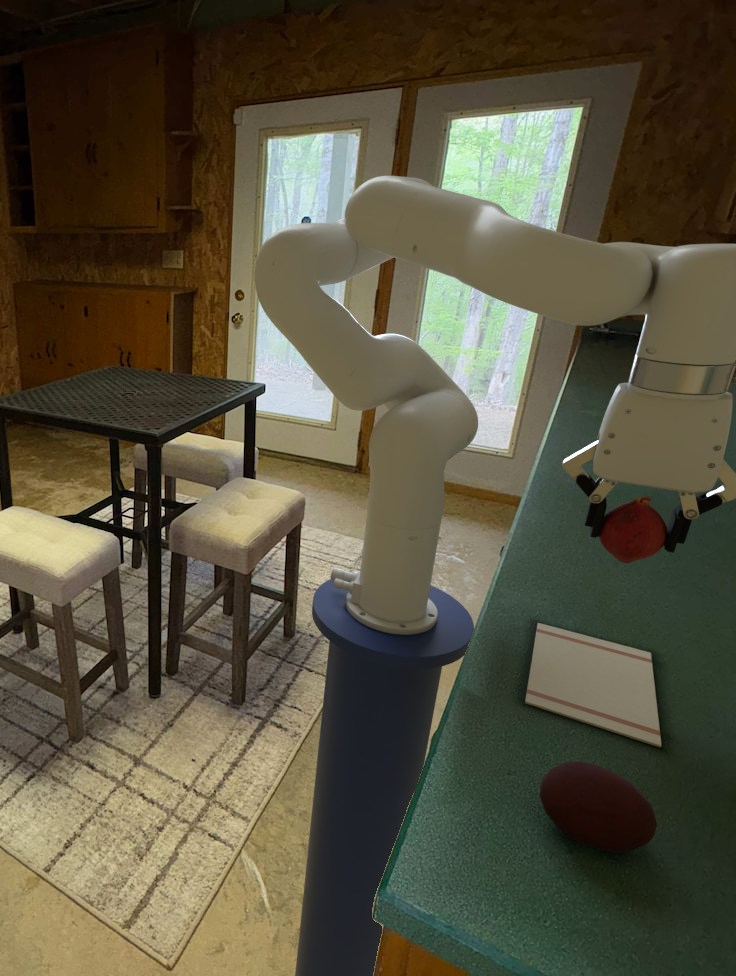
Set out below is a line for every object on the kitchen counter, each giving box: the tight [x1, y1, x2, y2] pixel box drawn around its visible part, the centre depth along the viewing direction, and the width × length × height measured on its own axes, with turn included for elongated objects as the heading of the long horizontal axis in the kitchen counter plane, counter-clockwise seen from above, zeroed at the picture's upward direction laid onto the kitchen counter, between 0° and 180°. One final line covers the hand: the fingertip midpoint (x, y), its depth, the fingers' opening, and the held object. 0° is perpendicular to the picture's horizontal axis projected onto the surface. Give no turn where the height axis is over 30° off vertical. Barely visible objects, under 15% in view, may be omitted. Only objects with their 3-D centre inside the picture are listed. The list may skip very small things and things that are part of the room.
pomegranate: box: [598, 495, 668, 564], centre depth 68 cm, size 6×6×8 cm
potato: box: [539, 761, 658, 853], centre depth 54 cm, size 7×8×6 cm
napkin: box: [524, 622, 663, 749], centre depth 74 cm, size 12×18×1 cm, turn 145°
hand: (630, 538), depth 68 cm, fingers closed on pomegranate, 5 cm apart
